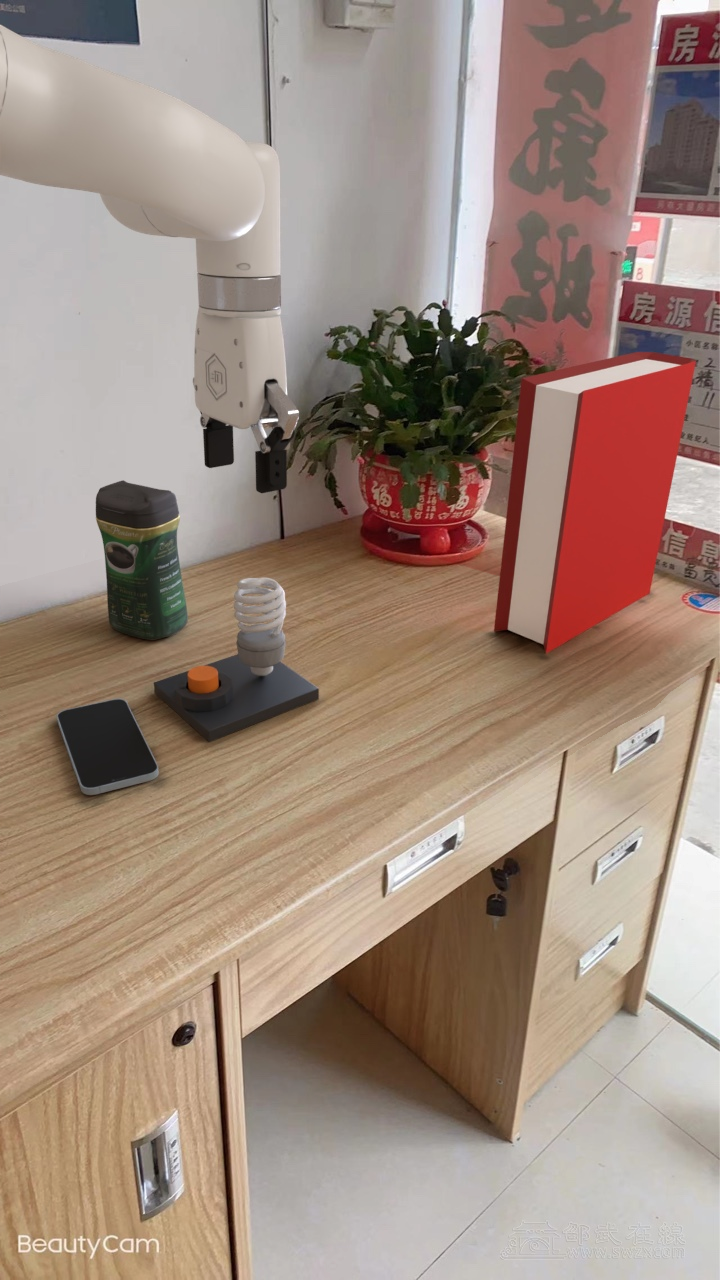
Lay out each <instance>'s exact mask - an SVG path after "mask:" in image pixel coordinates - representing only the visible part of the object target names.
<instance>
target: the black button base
mask: <svg viewBox="0 0 720 1280" xmlns="http://www.w3.org/2000/svg"><path fill="white" fill-rule="evenodd" d="M203 666H211V667H214V668H215V669H217V671H218V682H219V687H218V689H217V690H216V691H213V692H210V693H202V694H198V693H193V692H191V691H190V690H189V686H188V672H189V670H186V671H183V672H180V673H178V674H174V675H172V676H168V677H166V678H163V679H160V680H157V681H154V682H153V688H154V689H153V690H154V691H153V692H154V694H155V695H156V696H157V697H159V699H161V700H162V701H163V702H164V703H165V704H166V705H167V706H168V707H169V708H171V709H172V710H173V711H174V712H176V714H177V715H178V716H180V717H181V718H182V719H183V721H185V722H186V723H188V725H190V726H191V727H192V728H193V729H194V730H195V731H196V732H197V733H198V734H199V735H201V736H202V737H203V738H204V739H205V740H206V741H207V742H209V743H211V742H213V741H215V740H219V739H221V738H224V737H225V736H226V737H227V736H228V735H231V734H233V733H234V734H235V733H236V732H238V731H241V730H244V729H246V728H249V727H251V726H254V725H256V724H259V723H261V722H264V721H266V720H269V719H272V718H274V717H276V716H279V715H281V714H284V713H287V712H289V711H292V710H295V709H297V708H299V707H302V706H304V705H307V704H309V703H312V702H315V701H317V700H319V699H320V689H319V687H318V686H316V685H315V684H313V683H312V682H310V681H309V680H307V679H306V678H304V676H302V675H300V674H299V673H297V672H296V671H295V670H293V669H291V667H289V666H287V665H286V664H284V663H283V662H282V661H281V662H280V663H278V664H276V665H274V666H273V671H272V672H271V673H269V674H268V675H266V676H264V677H261V676H257V675H255V674H254V673H252V672H251V666H248V665H246V664H243V663H242V662H241V661H240V658H239V656H238V653H237V654H234V655H230V656H227V657H225V658H221V659H220V660H215V661H214V662H210V663H207V664H204V665H203Z"/></svg>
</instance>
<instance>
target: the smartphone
mask: <svg viewBox="0 0 720 1280" xmlns="http://www.w3.org/2000/svg"><path fill="white" fill-rule="evenodd" d="M56 722H57V725H58V728H59V732H60V734H61V736H62V739H63V742H64V745H65V748H66V752H67V755H68V757H69V759H70V762H71V766H72V769H73V772H74V774H75V777H76V779H77V783H78V785H79V789H80V791H81V793H82V794H84V795H86V796H94V795H100V794H103V793H107V792H111V791H115V790H119V789H122V788H127V787H130V786H135V785H138V784H139V785H140V784H141V783H142V784H143V783H146V782H151V781H153V780H155V779H156V778H158V777H159V775H160V772H159V765H158V762H157V761H156V759H155V756H154V754H153V752H152V750H151V748H150V746H149V744H148V742H147V739H146V738H145V736H144V734H143V731H142V730H141V728H140V726H139V723H138V722H137V720H136V717H135V715H134V714H133V711H132V710H131V707H130V706H129V703H128V702H127V700H126V699H123V698H113V699H108V700H103V701H100V702H93V703H90V704H85V705H79V706H76V707H72V708H71V707H70V708H66V709H63V710H61V711H59V712H58V713H57V714H56Z"/></svg>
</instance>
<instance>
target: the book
mask: <svg viewBox="0 0 720 1280" xmlns="http://www.w3.org/2000/svg"><path fill="white" fill-rule="evenodd" d="M696 363H697V361H696V360H695V359H693V358H691V357H685V356H680V355H674V354H667V353H661V352H655V351H635V352H632V353H627V354H621V355H617V356H613V357H609V358H604V359H600V360H595V361H591V362H586V363H582V364H577V365H574V366H573V365H572V366H569V367H564V368H560V369H556V370H551V371H548V372H543V373H538V374H534V375H529V376H524V377H521V380H520V390H519V397H518V398H519V399H518V407H517V418H516V424H515V425H516V426H515V435H514V443H513V453H512V454H513V455H512V461H511V462H512V463H511V472H510V480H509V489H508V497H507V498H508V499H507V509H506V518H505V524H504V525H505V526H504V535H503V544H502V546H503V547H502V553H501V562H500V572H499V580H498V589H497V599H496V609H495V616H494V617H495V618H494V628H493V632H501V631H507V630H508V631H510V632H512V633H515V634H517V635H520V636H522V637H524V638H527V639H529V640H532V641H534V642H536V643H538V644H541V645H543V648H544V651H545V654H548V653H550V652H551V651H553V650H555V649H557V648H558V647H560V646H562V645H563V644H565V643H566V642H568V641H570V640H572V639H574V638H575V637H577V636H579V635H581V634H582V633H584V632H586V631H587V630H589V629H591V628H592V627H595V626H596V625H598V624H599V623H601V622H603V621H605V620H606V619H608V618H610V617H612V616H613V615H615V614H617V613H619V612H620V611H622V610H623V609H625V608H627V607H628V606H630V605H632V604H634V603H635V602H638V601H639V600H641V599H643V598H644V597H646V596H648V595H649V594H650V593H651V588H652V583H653V578H654V574H655V568H656V564H657V558H658V554H659V548H660V543H661V539H662V533H663V527H664V524H665V520H666V519H665V518H666V513H667V508H668V505H669V499H670V495H671V489H672V484H673V478H674V473H675V468H676V463H677V458H678V454H679V448H680V443H681V437H682V433H683V429H684V423H685V418H686V414H687V409H688V408H687V407H688V405H689V404H688V403H689V399H690V393H691V389H692V383H693V380H694V379H693V378H694V373H695V369H696Z"/></svg>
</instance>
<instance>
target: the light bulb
mask: <svg viewBox="0 0 720 1280" xmlns="http://www.w3.org/2000/svg"><path fill="white" fill-rule="evenodd" d="M236 586H237V588H238V590H236V591H235V592H234V593H233V599H234V600H235V601H234V602H233V609H234V610H235V612H234V618H235V619H236V620H237V621H238V622H237V628H238V629H239V631H238V632H237V635H236V649H237V654H238V656H239V658H240V661H241V662H242V663H243V664H246V665H248V666H251V672H252V673H254V674H255V675H257V676H261V677H264V676H266V675H268V674H269V673H271V672H272V671H273V666H274V665H276V664H278V663H280V662H282V661H283V659H284V658H285V651H286V650H285V649H286V634H285V632H284V631H283V629H282V628H283V626H284V620H285V618H286V615H287V612H286V607H287V601H286V593H285V590H284V588H283V587H282V586H281V584H280V583H279V582H277V581H276V580H275V579H273V578H270V577H266V576H265V577H247V578H246V577H245V578H243V579H240V580H239V581H238V582H237V584H236ZM260 586H264V587H260ZM266 587H268V588H266ZM270 588H271V589H270ZM252 594H254V595H252ZM245 595H249V596H245ZM259 604H261V605H259ZM244 605H246V606H244ZM261 614H262V615H261ZM248 615H257V616H248ZM267 622H268V623H267ZM246 624H250V625H246Z"/></svg>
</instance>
